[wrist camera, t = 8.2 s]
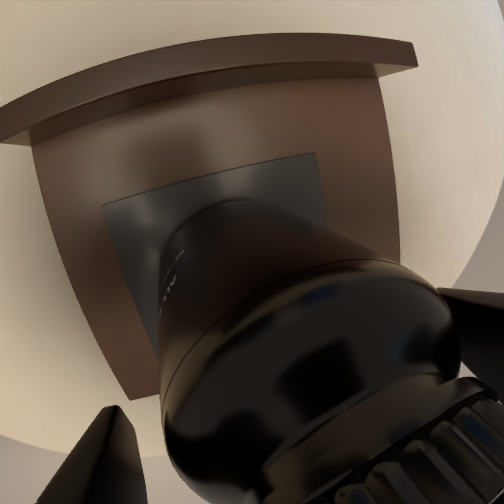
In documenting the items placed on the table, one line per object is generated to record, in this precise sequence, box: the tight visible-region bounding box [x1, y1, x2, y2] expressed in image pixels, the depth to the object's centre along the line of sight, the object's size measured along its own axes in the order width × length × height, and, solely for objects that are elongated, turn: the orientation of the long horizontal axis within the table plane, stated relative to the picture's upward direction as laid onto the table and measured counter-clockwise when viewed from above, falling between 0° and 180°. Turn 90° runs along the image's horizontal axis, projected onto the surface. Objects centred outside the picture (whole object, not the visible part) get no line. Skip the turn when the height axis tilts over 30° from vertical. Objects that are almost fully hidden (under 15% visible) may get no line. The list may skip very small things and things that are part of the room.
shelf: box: [0, 33, 418, 401], centre depth 12 cm, size 14×16×4 cm
